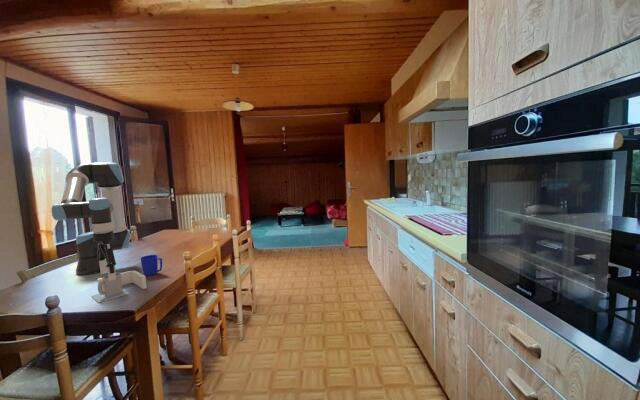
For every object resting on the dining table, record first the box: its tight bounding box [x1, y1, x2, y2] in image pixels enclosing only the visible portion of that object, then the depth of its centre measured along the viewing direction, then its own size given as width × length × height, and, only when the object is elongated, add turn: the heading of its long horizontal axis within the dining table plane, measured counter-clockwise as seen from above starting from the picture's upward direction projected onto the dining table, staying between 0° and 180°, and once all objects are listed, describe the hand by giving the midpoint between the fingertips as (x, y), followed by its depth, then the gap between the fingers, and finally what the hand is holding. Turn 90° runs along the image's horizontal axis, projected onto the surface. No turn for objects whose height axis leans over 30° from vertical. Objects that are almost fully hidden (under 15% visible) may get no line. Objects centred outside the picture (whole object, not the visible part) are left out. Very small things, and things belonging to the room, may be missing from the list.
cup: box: [97, 272, 124, 297], centre depth 137 cm, size 7×10×9 cm
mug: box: [140, 254, 163, 277], centre depth 165 cm, size 8×12×10 cm
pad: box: [91, 288, 130, 304], centre depth 137 cm, size 12×12×1 cm
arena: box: [96, 269, 147, 291], centre depth 144 cm, size 17×16×6 cm
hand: (108, 276), depth 137 cm, fingers open, 13 cm apart
